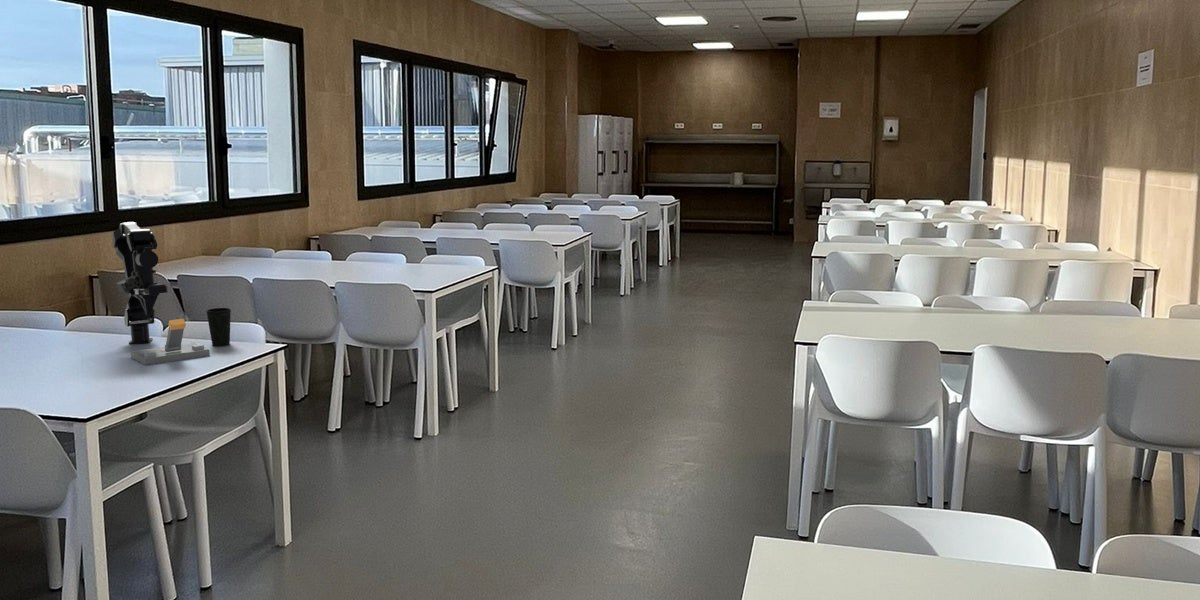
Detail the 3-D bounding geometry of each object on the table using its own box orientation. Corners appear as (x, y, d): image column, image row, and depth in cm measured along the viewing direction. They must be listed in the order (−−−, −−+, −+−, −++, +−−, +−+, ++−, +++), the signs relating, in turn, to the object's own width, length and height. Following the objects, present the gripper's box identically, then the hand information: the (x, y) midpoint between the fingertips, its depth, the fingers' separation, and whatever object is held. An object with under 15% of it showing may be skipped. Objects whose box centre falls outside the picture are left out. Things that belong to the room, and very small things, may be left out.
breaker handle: (164, 348, 330) (169, 320, 323) (178, 346, 333) (183, 318, 326) (166, 353, 329) (171, 325, 322) (180, 351, 332) (185, 323, 325)
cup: (204, 345, 349) (201, 310, 347) (221, 341, 356) (219, 307, 354) (220, 348, 345) (217, 312, 343) (238, 343, 352) (235, 308, 350)
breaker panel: (131, 357, 332) (130, 347, 331) (194, 348, 345) (193, 339, 344) (145, 365, 322) (144, 355, 321) (209, 355, 334) (209, 345, 334)
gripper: (105, 270, 340) (111, 317, 341) (131, 270, 327) (137, 319, 329) (139, 267, 348) (144, 313, 349) (166, 266, 336) (170, 314, 337)
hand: (148, 315), depth 341 cm, fingers closed
